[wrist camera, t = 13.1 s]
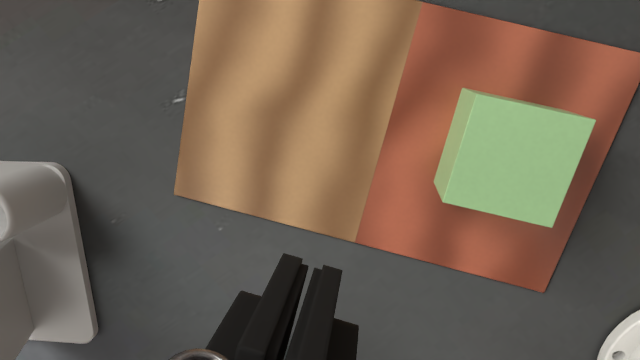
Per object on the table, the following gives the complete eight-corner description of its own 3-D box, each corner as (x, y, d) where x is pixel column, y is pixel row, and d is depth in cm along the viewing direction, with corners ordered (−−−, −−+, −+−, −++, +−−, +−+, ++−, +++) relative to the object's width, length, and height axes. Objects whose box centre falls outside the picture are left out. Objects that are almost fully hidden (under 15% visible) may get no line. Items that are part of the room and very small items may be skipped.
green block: (564, 109, 29) (596, 119, 25) (528, 204, 31) (552, 228, 27) (462, 87, 29) (476, 93, 25) (433, 182, 32) (442, 202, 27)
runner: (649, 55, 28) (651, 55, 27) (543, 291, 33) (543, 292, 33) (206, -49, 29) (205, -50, 29) (174, 193, 35) (173, 194, 34)
